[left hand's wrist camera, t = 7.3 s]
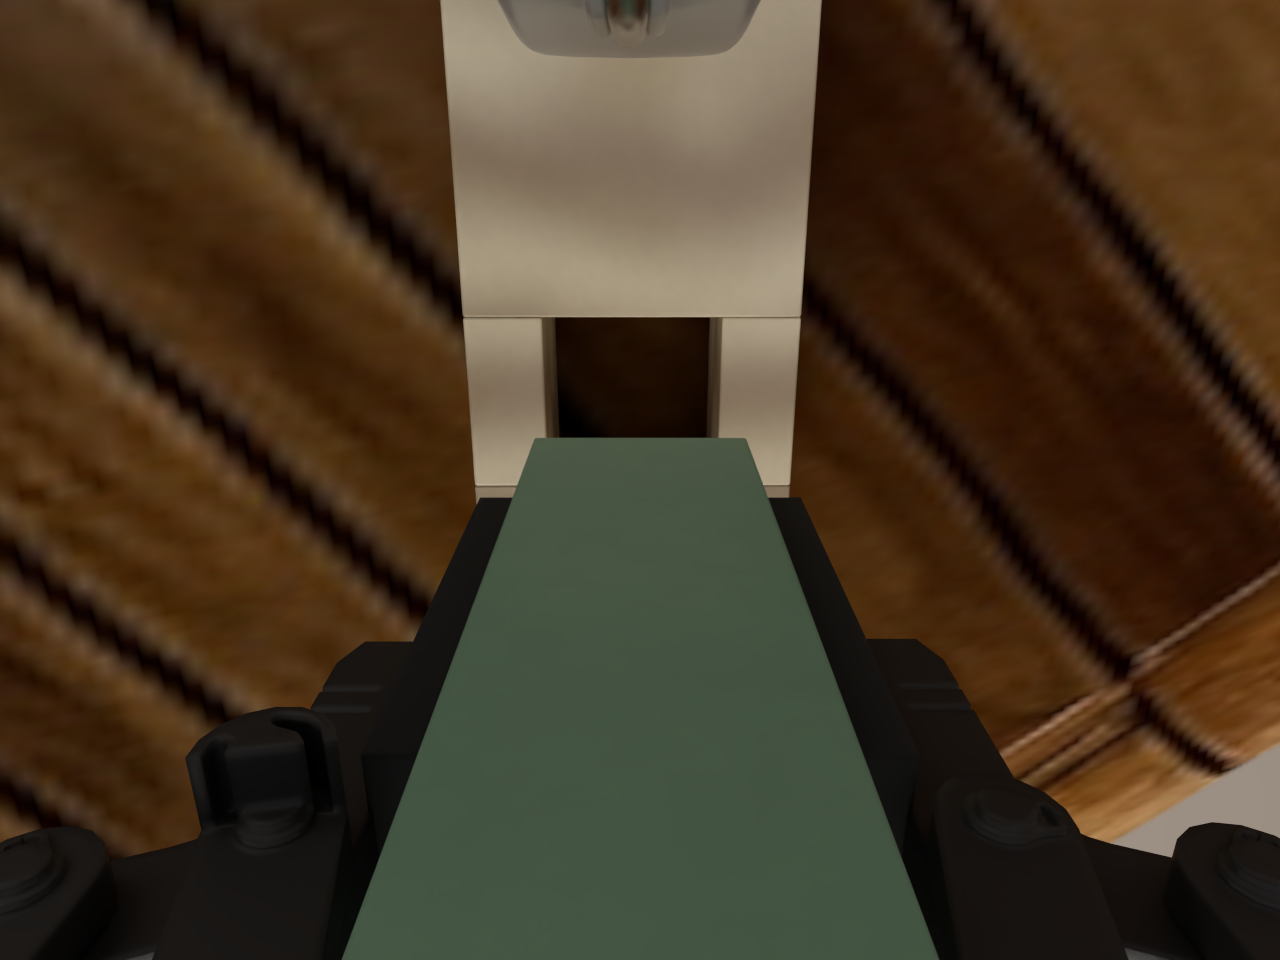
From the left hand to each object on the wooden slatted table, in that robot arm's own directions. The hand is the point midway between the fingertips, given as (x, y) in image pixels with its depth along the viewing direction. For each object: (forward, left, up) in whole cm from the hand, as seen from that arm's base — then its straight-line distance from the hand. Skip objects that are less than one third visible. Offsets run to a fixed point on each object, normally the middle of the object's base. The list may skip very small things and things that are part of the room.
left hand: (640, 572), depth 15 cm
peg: (0, 0, -2) cm, 2 cm away
